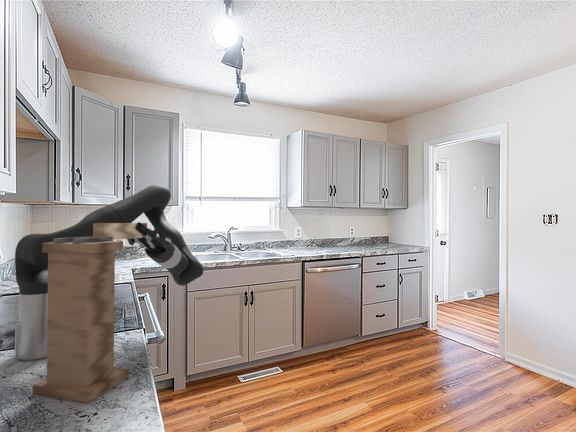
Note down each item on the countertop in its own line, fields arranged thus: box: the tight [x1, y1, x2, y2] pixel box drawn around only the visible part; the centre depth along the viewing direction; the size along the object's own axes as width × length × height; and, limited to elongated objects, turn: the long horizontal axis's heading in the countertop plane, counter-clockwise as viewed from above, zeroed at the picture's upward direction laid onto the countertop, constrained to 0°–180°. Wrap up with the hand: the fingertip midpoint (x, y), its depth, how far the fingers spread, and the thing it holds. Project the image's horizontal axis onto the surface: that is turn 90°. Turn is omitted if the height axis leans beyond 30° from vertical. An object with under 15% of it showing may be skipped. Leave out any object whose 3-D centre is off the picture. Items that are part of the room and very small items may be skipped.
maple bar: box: [93, 222, 148, 241], centre depth 88 cm, size 16×3×4 cm, turn 166°
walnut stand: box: [32, 237, 130, 404], centre depth 76 cm, size 12×14×33 cm
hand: (131, 225), depth 92 cm, fingers closed on maple bar, 3 cm apart
